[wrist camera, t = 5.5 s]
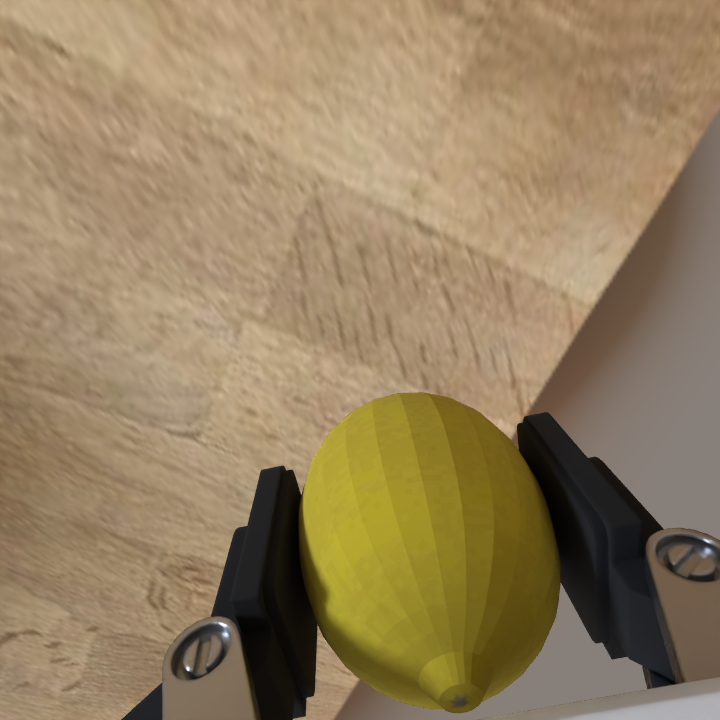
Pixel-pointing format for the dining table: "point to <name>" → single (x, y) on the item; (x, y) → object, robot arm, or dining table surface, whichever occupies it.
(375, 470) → the lemon
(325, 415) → the dining table surface
